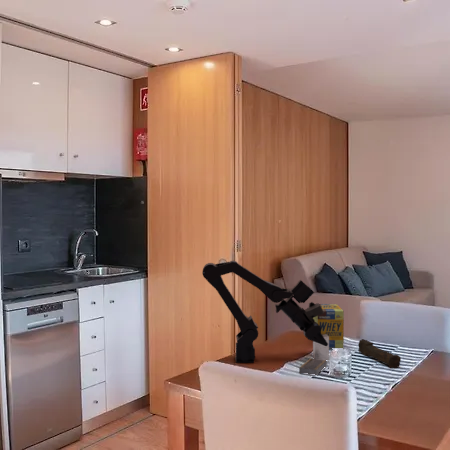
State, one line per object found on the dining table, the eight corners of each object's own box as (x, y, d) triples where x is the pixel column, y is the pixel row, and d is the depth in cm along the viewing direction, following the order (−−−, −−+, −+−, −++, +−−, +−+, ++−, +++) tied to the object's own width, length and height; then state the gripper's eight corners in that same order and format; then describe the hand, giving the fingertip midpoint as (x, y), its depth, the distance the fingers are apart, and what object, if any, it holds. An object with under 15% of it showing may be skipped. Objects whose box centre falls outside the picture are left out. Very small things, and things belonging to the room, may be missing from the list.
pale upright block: (328, 361, 190) (328, 336, 190) (315, 361, 190) (315, 336, 190) (326, 358, 194) (326, 334, 194) (313, 358, 194) (313, 334, 194)
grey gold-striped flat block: (316, 376, 174) (316, 369, 174) (299, 373, 176) (299, 366, 176) (326, 366, 184) (326, 359, 184) (310, 364, 187) (310, 357, 187)
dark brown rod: (401, 368, 183) (401, 352, 183) (389, 369, 181) (389, 353, 181) (366, 351, 205) (366, 337, 204) (355, 352, 203) (355, 338, 203)
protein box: (317, 350, 206) (317, 310, 206) (312, 340, 221) (312, 303, 221) (344, 350, 206) (344, 310, 205) (337, 340, 221) (337, 303, 221)
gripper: (315, 301, 182) (346, 332, 183) (305, 292, 201) (334, 321, 201) (292, 323, 182) (323, 355, 183) (285, 313, 201) (313, 341, 202)
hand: (324, 342), depth 192 cm, fingers open, 9 cm apart
